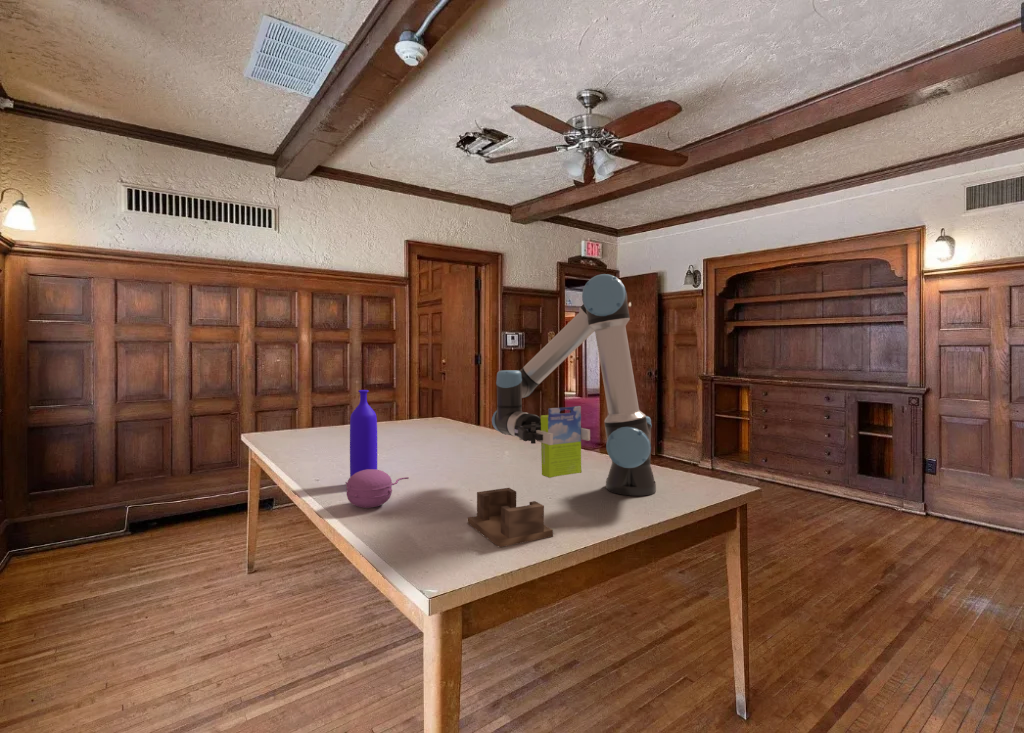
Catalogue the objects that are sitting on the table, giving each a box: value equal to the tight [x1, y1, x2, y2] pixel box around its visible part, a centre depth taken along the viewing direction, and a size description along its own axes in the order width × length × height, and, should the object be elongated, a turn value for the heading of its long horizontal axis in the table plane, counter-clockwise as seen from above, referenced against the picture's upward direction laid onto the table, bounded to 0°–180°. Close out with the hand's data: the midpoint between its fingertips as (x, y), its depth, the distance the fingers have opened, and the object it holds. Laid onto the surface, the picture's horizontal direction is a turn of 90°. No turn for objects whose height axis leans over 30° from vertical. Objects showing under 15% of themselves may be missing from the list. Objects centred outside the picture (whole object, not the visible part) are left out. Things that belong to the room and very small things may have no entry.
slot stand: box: [467, 487, 554, 548], centre depth 121 cm, size 14×17×8 cm
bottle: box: [349, 389, 378, 478], centre depth 159 cm, size 8×8×30 cm
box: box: [540, 405, 582, 479], centre depth 129 cm, size 10×4×17 cm, turn 120°
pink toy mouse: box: [345, 469, 410, 509], centre depth 140 cm, size 12×19×10 cm, turn 120°
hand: (570, 437), depth 125 cm, fingers closed on box, 10 cm apart
